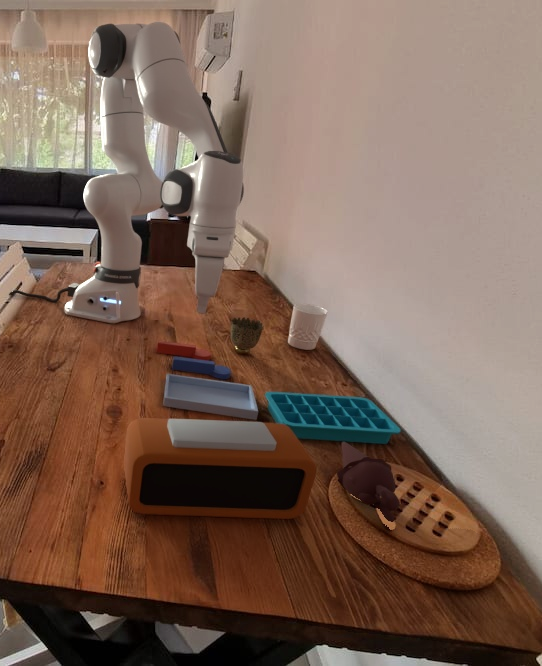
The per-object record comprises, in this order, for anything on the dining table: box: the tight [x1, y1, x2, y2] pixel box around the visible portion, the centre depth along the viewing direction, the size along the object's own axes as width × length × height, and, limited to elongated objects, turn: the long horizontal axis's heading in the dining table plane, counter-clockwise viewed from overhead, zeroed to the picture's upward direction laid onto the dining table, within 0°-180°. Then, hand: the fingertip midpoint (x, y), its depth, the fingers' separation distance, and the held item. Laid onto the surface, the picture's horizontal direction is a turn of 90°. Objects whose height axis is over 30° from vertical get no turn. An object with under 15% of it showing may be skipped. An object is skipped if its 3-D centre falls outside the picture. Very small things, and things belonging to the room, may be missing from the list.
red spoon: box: [156, 340, 212, 361], centre depth 109 cm, size 13×4×3 cm, turn 78°
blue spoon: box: [171, 355, 232, 380], centre depth 101 cm, size 13×4×3 cm, turn 78°
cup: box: [230, 317, 265, 355], centre depth 111 cm, size 8×7×8 cm
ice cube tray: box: [264, 391, 402, 445], centre depth 84 cm, size 12×20×3 cm, turn 87°
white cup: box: [287, 303, 329, 351], centre depth 117 cm, size 8×8×10 cm
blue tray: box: [162, 373, 259, 421], centre depth 90 cm, size 17×10×2 cm, turn 78°
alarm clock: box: [123, 417, 318, 520], centre depth 63 cm, size 24×8×11 cm, turn 90°
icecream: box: [336, 441, 401, 532], centre depth 66 cm, size 7×7×15 cm
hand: (200, 305), depth 96 cm, fingers open, 8 cm apart
